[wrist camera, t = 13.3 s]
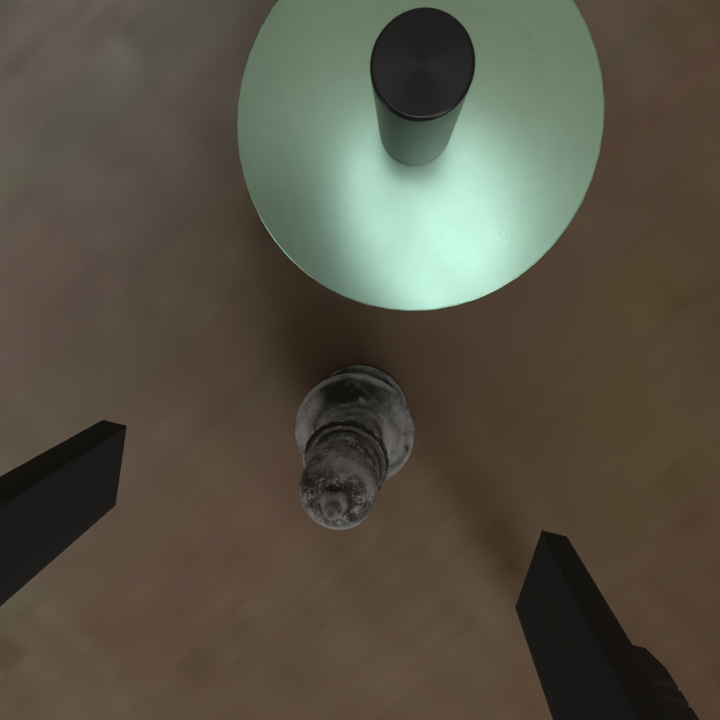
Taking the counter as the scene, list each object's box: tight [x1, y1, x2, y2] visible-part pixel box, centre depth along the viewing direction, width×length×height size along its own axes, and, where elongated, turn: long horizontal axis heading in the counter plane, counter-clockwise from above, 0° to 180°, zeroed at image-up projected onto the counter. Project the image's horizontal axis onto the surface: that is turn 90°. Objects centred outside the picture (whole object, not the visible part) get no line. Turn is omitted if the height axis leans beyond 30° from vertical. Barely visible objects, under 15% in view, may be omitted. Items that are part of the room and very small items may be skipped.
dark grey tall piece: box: [295, 365, 415, 530], centre depth 22 cm, size 6×6×12 cm
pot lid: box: [237, 0, 605, 311], centre depth 15 cm, size 12×12×7 cm
